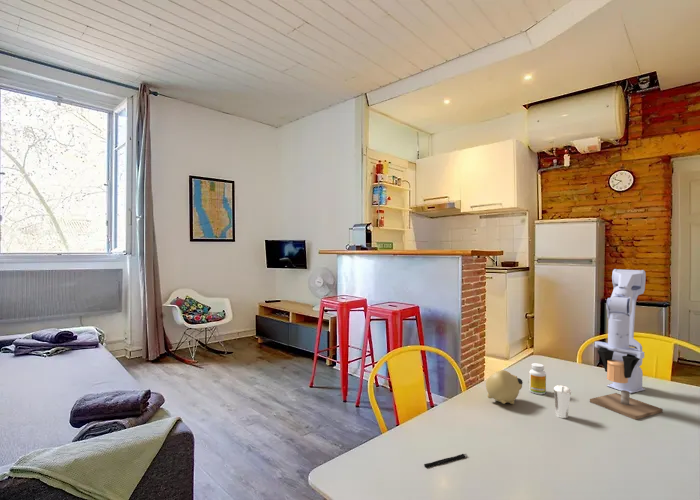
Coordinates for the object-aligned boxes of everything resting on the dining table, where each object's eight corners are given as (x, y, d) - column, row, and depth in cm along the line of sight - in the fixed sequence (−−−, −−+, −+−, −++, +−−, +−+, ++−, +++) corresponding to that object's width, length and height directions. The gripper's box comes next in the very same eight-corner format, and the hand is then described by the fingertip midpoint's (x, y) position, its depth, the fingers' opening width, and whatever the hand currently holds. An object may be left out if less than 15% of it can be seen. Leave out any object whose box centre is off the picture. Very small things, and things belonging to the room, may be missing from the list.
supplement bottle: (548, 395, 132) (549, 367, 132) (533, 394, 132) (533, 367, 132) (541, 389, 137) (541, 362, 137) (526, 388, 137) (526, 362, 137)
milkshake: (553, 418, 114) (554, 385, 114) (553, 411, 119) (553, 379, 118) (570, 421, 112) (571, 388, 112) (569, 414, 116) (570, 382, 116)
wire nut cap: (613, 376, 128) (614, 358, 128) (631, 381, 123) (632, 363, 123) (603, 378, 126) (603, 360, 126) (620, 384, 121) (621, 365, 121)
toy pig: (528, 403, 125) (528, 371, 125) (506, 411, 118) (506, 377, 118) (501, 393, 133) (502, 363, 133) (479, 400, 126) (480, 368, 126)
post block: (615, 395, 132) (616, 381, 132) (662, 412, 119) (662, 396, 119) (589, 401, 126) (590, 387, 126) (635, 419, 114) (635, 403, 114)
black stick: (465, 456, 93) (465, 452, 93) (468, 458, 92) (468, 454, 92) (424, 467, 88) (423, 462, 88) (426, 469, 87) (426, 465, 87)
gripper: (588, 329, 130) (588, 369, 130) (635, 339, 116) (634, 383, 117) (602, 328, 133) (601, 366, 133) (648, 337, 119) (647, 380, 119)
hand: (617, 374), depth 125 cm, fingers closed on wire nut cap, 6 cm apart
